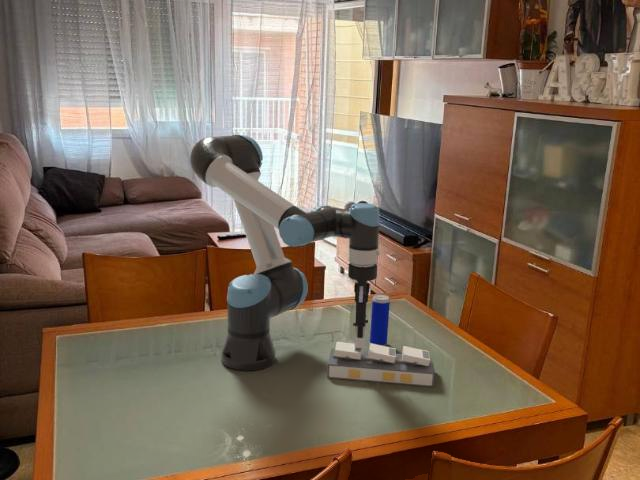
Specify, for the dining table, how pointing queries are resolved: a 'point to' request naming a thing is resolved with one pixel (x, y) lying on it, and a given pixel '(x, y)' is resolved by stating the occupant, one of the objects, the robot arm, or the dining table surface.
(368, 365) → the switch console
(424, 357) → the rocker
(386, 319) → the beverage can
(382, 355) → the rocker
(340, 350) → the plate
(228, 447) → the dining table surface
